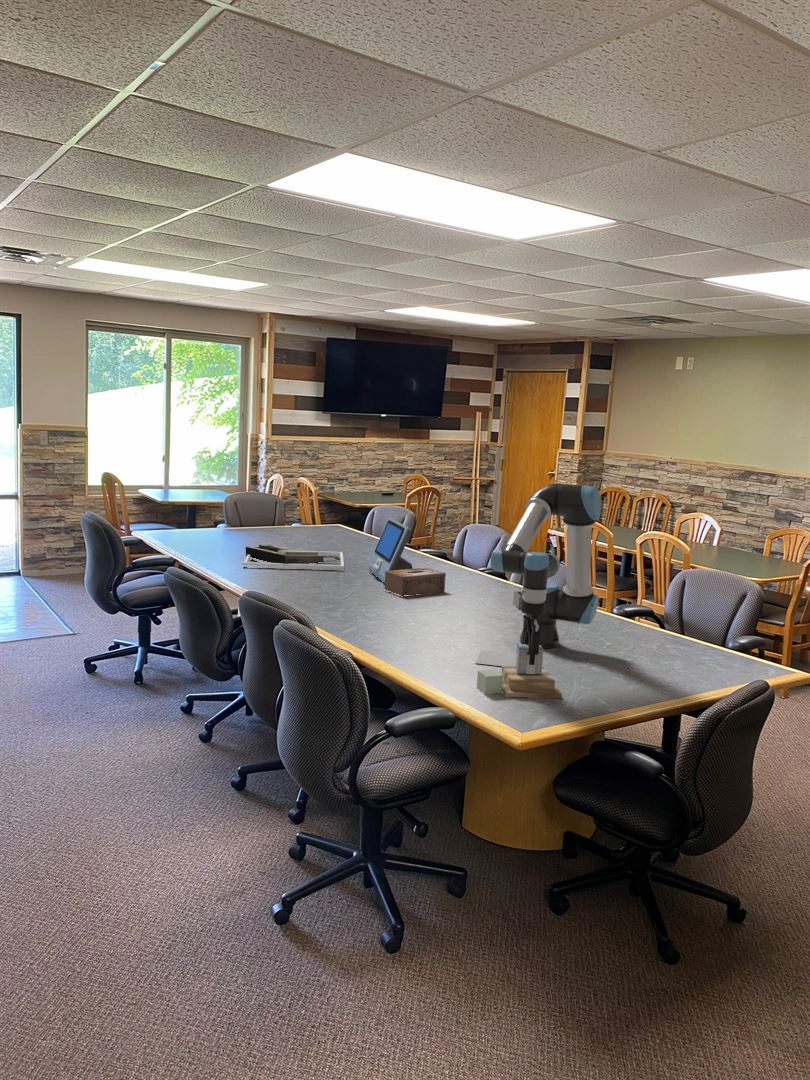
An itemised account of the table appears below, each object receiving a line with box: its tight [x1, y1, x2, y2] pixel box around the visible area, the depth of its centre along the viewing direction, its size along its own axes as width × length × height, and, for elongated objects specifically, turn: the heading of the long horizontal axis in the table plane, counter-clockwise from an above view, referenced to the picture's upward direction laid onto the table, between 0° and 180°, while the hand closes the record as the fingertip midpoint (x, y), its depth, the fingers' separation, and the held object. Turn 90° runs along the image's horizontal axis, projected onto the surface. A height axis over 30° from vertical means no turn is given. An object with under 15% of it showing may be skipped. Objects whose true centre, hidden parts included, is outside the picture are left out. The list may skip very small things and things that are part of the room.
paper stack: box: [475, 649, 516, 667], centre depth 291 cm, size 23×25×1 cm
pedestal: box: [501, 666, 563, 699], centre depth 266 cm, size 18×18×5 cm
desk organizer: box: [512, 590, 523, 610], centre depth 380 cm, size 11×21×6 cm, turn 95°
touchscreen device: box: [368, 517, 414, 584], centre depth 426 cm, size 35×20×30 cm, turn 16°
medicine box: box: [515, 643, 544, 674], centre depth 265 cm, size 8×4×9 cm, turn 92°
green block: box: [476, 669, 503, 695], centre depth 262 cm, size 6×6×6 cm
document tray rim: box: [243, 550, 345, 570], centre depth 457 cm, size 42×53×3 cm
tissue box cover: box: [383, 567, 446, 596], centre depth 399 cm, size 26×14×10 cm, turn 125°
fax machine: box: [245, 544, 341, 564], centre depth 457 cm, size 45×34×10 cm
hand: (528, 670), depth 266 cm, fingers closed on medicine box, 5 cm apart
